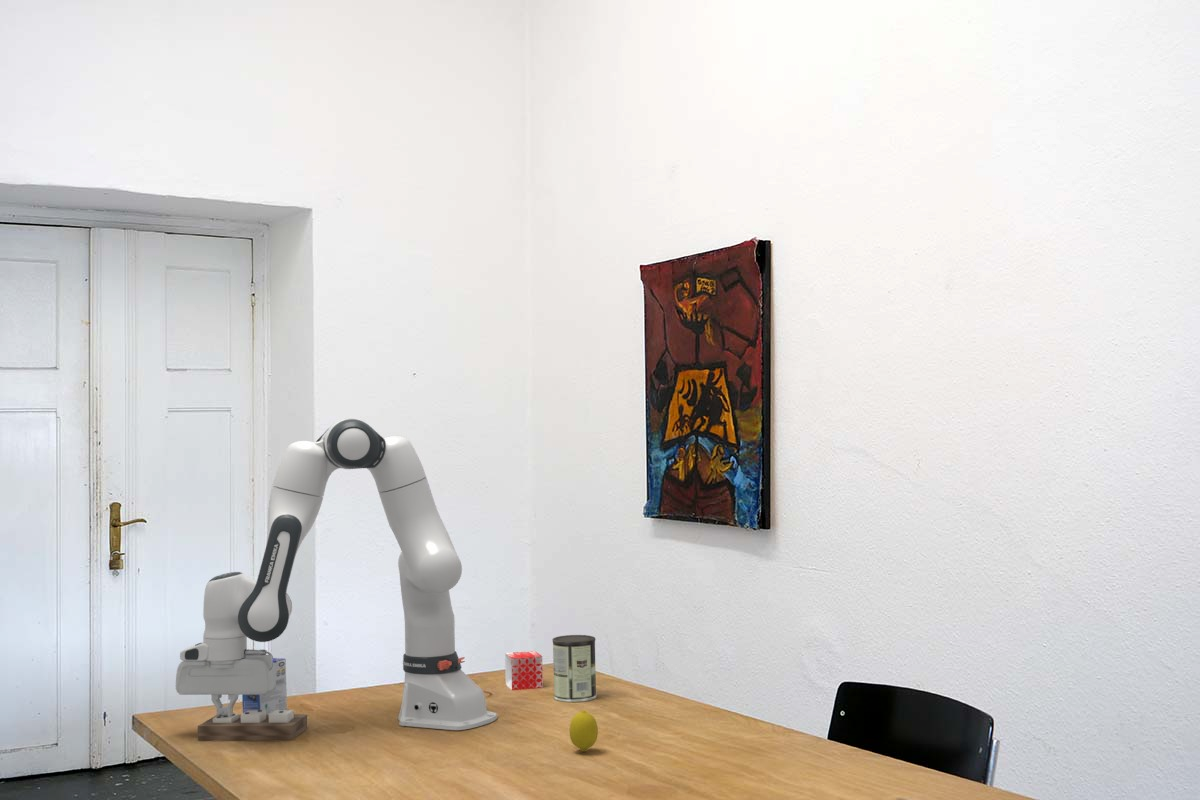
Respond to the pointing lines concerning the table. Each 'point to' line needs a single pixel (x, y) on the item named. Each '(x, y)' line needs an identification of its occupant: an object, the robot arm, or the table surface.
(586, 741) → the lemon
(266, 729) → the button panel
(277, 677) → the ink cartridge box
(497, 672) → the table surface
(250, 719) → the button two
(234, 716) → the button three
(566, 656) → the coffee can
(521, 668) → the red and white cube
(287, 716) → the button one
